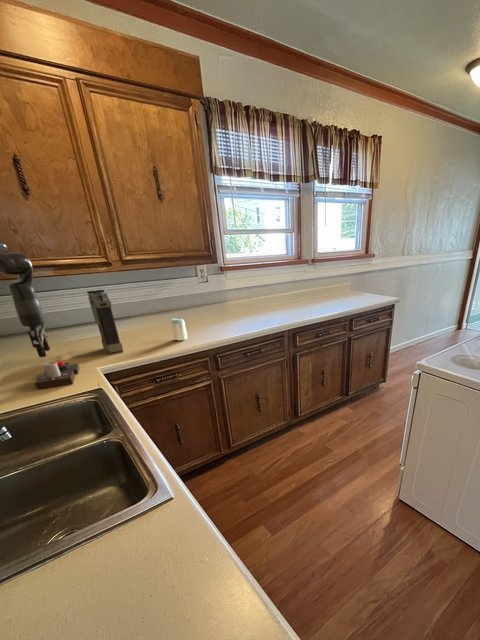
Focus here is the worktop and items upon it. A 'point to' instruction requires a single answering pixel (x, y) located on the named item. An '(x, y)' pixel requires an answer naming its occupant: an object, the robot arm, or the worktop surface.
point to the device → (105, 321)
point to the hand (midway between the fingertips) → (45, 353)
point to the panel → (55, 380)
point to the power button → (60, 363)
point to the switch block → (68, 368)
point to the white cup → (52, 369)
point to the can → (179, 329)
